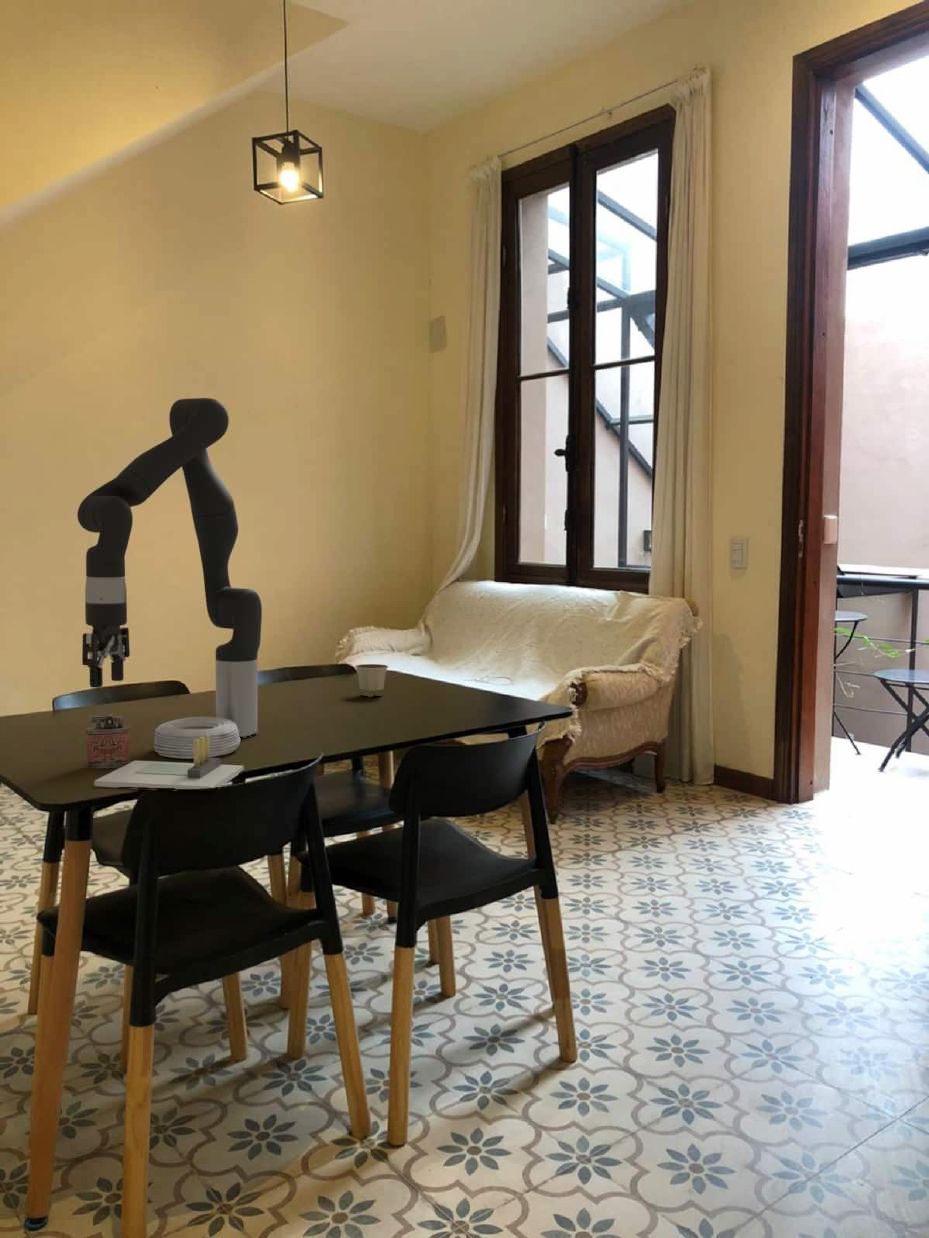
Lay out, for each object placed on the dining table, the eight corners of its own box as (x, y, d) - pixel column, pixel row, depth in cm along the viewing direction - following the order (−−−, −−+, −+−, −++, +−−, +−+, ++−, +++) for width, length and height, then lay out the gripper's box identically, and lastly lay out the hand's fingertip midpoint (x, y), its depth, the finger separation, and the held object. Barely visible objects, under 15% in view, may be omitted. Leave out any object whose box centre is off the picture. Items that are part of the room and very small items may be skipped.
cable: (215, 739, 216) (215, 712, 215) (256, 753, 203) (256, 725, 202) (139, 750, 204) (139, 722, 203) (178, 766, 191) (178, 735, 191)
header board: (135, 765, 190) (134, 727, 189) (243, 770, 187) (243, 732, 187) (94, 786, 174) (93, 745, 173) (212, 792, 171) (212, 750, 171)
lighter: (130, 762, 192) (129, 712, 191) (130, 766, 189) (129, 715, 188) (86, 764, 190) (85, 714, 189) (85, 768, 186) (84, 717, 186)
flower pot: (354, 693, 280) (355, 663, 280) (387, 693, 281) (387, 663, 281) (354, 698, 271) (355, 668, 270) (388, 698, 272) (388, 668, 271)
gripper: (106, 603, 179) (107, 690, 180) (141, 598, 193) (142, 679, 195) (68, 602, 180) (69, 688, 181) (105, 597, 194) (106, 677, 195)
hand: (107, 683), depth 188 cm, fingers open, 8 cm apart
